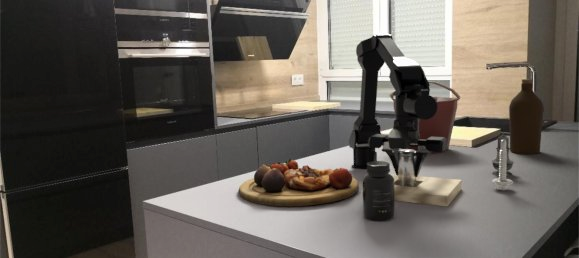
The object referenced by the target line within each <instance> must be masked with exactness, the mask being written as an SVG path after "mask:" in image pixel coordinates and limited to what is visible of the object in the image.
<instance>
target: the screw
mask: <svg viewBox="0 0 579 258" xmlns="http://www.w3.org/2000/svg"><path fill="white" fill-rule="evenodd" d="M506 150H507V149H506V140H504V139H503V140H501V149H500V157H499V158H500V159H499V160H500V164H499V165H500V166H499V167H500V168H499V169H500V171H499V176H498V177H495V178H493V179H492V181H491V183H493V184H495V186H496V189H497V190H498V191H502V192H503V191H504V192H505V191H508V190H509V186H511V185H513V184H514V182H513V180H512V179H510V178H507V176H506V175H507V174H506V173H507V172H506V171H507V170H506V168H507V167H506V166H507V165H506V164H507V163H506V162H507V161H506V159H507V158H506V157H507V156H506V155H507V154H506V153H507V151H506Z"/></svg>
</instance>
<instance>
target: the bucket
mask: <svg viewBox="0 0 579 258" xmlns="http://www.w3.org/2000/svg"><path fill="white" fill-rule="evenodd" d="M428 83H429V84H433V85H436V86H439V87H441V88H443V89H446V90H448V91H449V92H451V93H452V94H453V95H454V96H455V97H450V96H449V97H447V96H432V97H433V98H434V99H435V101H436V103H437V111H436V113H435V115H434V116H433V117H432V118H430V119H427V120H424V119H420V122H419V134H420V138H419V139H420V140H427V139H428V138H430V137H445V138H446V139H447V149H445V150H444V151H443V152H430V153H429V154H431V153H432V154H442V153H446V152H447V151H449V148H450V143H451V139H452V133H453V128H454V124H455V119H456V114H457V110H458V101H460V99H461V95H459V93H458V92H457V91H456V90H455V89H454V88H452V87H450V86H448V85H446V84H443V83H440V82H437V81H430V80H428ZM393 93H394V91H392V92H391V93H390V94H389V97H390V99H391V100H392V101H393V110H394V113H395V96H394V95H393ZM408 149H411V150H416V151H418V150H419V148H418V147H413V146H409V148H408ZM429 154H428V155H429Z"/></svg>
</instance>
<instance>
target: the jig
mask: <svg viewBox="0 0 579 258" xmlns="http://www.w3.org/2000/svg"><path fill="white" fill-rule="evenodd" d="M390 175H391V176H393V178H394V184H395V202H396V201H397V202H404V203H405V202H406V203H414V204H424V205H431V206H440V207H441V206H442V207H448V206H449V205H450V204H451V203H452V202H453V201H454V199H455V198H456V197H457V196H458V194H459V193H460V192H461V190H462V179H455V178H447V177H446V178H444V177H434V176H433V177H432V176H423V175H422V176H421V175H418V177H416V187H409V186H399V185H398V175H396V173H392V174H390Z"/></svg>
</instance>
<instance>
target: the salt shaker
mask: <svg viewBox="0 0 579 258" xmlns="http://www.w3.org/2000/svg"><path fill="white" fill-rule="evenodd" d="M503 139H504V140H506V149H507V150H506V151H507V153H506V154H507V155H506V156H507V157H506V158H507V159H506V161H507V162H506V163H507V164H506V165H507V166H506V167H507V168H506V170H507V171H506V172H507V173H506V174H507V175H506V177H510V176H513V173H512V172H511V171H510V170H511V169H513V164H514V163H515V162H514V160H511V159H510V157H509V156H510V155H509V154H510V153H509V151H510V137H508V136H507V135H505V133H504V132H502V134H501V136H498V137H497V147H496V148H495V149H496V150H497V151H496V158H495V159H493V160H491V164H492V167H493V168H494V169H495V171H493V172H492V173H491V174H492V175H494V176H497V175H498V177H499V171H500V169H499V168H500V167H499V166H500V165H499V164H500V160H499V159H500V158H499V157H500V149H501V140H503Z"/></svg>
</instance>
